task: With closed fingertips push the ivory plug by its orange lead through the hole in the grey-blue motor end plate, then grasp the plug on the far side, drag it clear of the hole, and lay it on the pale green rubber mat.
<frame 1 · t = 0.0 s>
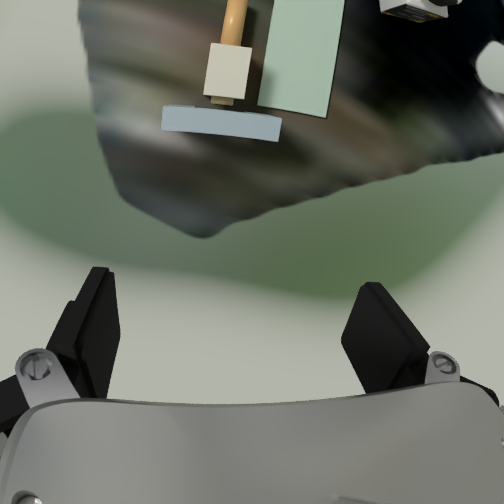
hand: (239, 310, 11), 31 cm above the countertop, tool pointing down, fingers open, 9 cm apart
plug: (225, 74, 34), on the countertop
mat: (302, 46, 33), on the countertop
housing: (218, 118, 37), on the countertop
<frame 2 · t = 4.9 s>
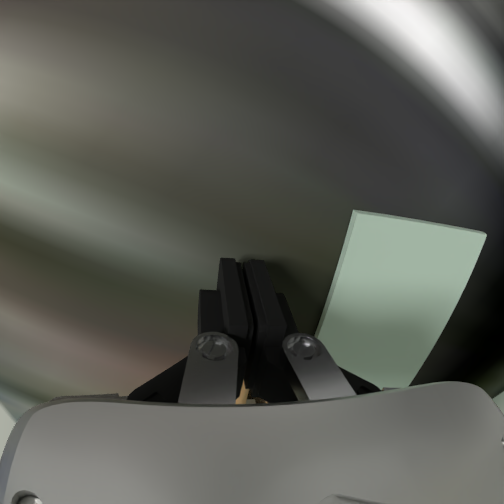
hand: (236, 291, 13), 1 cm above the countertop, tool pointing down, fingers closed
mat: (372, 359, 18), on the countertop
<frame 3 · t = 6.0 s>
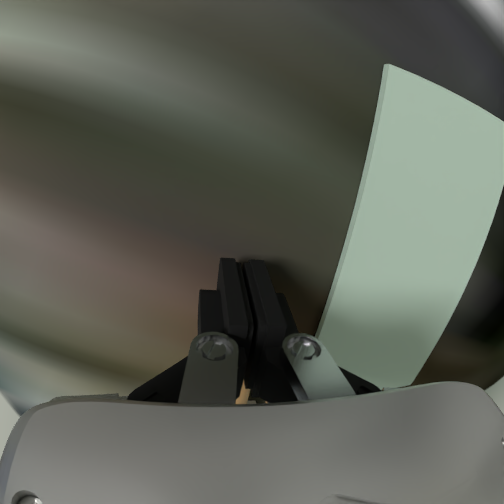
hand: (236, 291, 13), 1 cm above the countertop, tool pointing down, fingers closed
mat: (413, 272, 15), on the countertop
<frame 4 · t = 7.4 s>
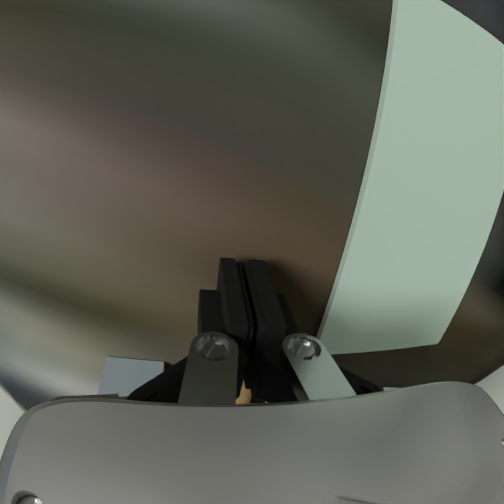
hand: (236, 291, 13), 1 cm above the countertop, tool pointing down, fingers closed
mat: (440, 196, 13), on the countertop
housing: (221, 379, 16), on the countertop
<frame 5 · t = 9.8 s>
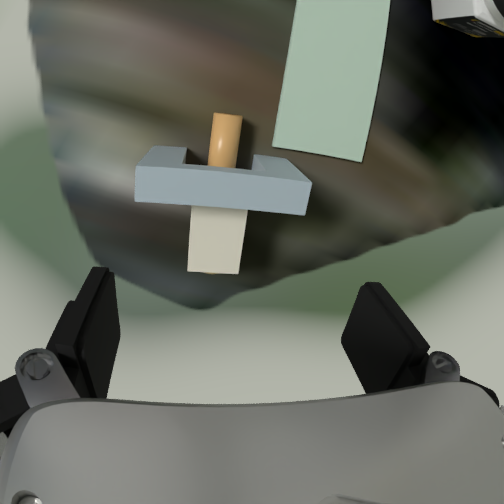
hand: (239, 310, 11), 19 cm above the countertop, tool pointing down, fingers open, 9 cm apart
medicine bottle: (451, 3, 21), on the countertop
plug: (214, 217, 30), on the countertop
mat: (335, 62, 24), on the countertop
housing: (219, 163, 28), on the countertop
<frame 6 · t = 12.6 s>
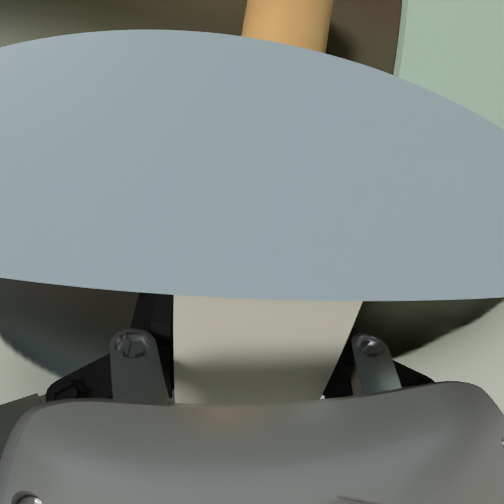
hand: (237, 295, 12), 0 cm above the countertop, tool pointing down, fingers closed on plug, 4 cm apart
plug: (239, 269, 12), on the countertop, touching gripper
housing: (261, 125, 10), on the countertop
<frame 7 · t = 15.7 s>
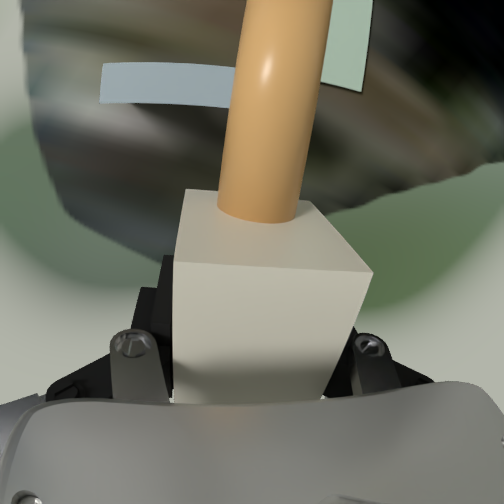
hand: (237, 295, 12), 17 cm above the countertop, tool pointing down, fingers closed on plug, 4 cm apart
plug: (238, 269, 12), point 16 cm above the countertop, touching gripper
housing: (201, 90, 23), on the countertop
when the fingers open (3 cm above the countertop, at t = 19.2 s): plug drops 2 cm, resting on mat.
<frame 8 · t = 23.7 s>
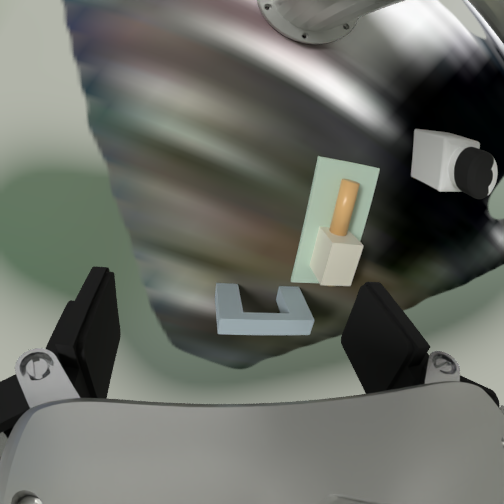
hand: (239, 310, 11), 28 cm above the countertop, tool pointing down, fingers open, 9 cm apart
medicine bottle: (429, 153, 40), on the countertop
plug: (328, 247, 44), resting on mat
mat: (334, 225, 43), on the countertop
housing: (257, 292, 46), on the countertop
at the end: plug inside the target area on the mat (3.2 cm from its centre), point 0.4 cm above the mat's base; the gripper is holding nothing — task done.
